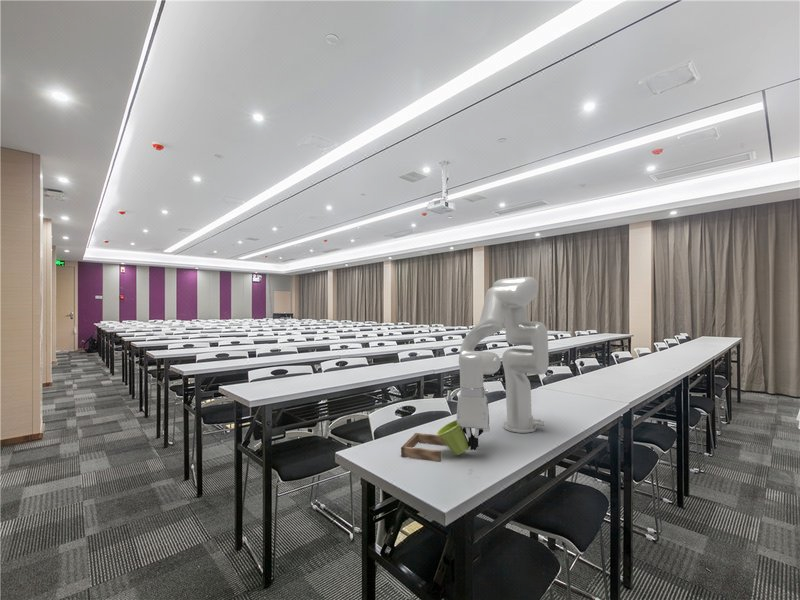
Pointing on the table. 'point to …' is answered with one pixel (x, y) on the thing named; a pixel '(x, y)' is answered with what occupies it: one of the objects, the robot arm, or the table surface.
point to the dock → (421, 453)
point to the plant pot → (454, 437)
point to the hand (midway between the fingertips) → (473, 448)
